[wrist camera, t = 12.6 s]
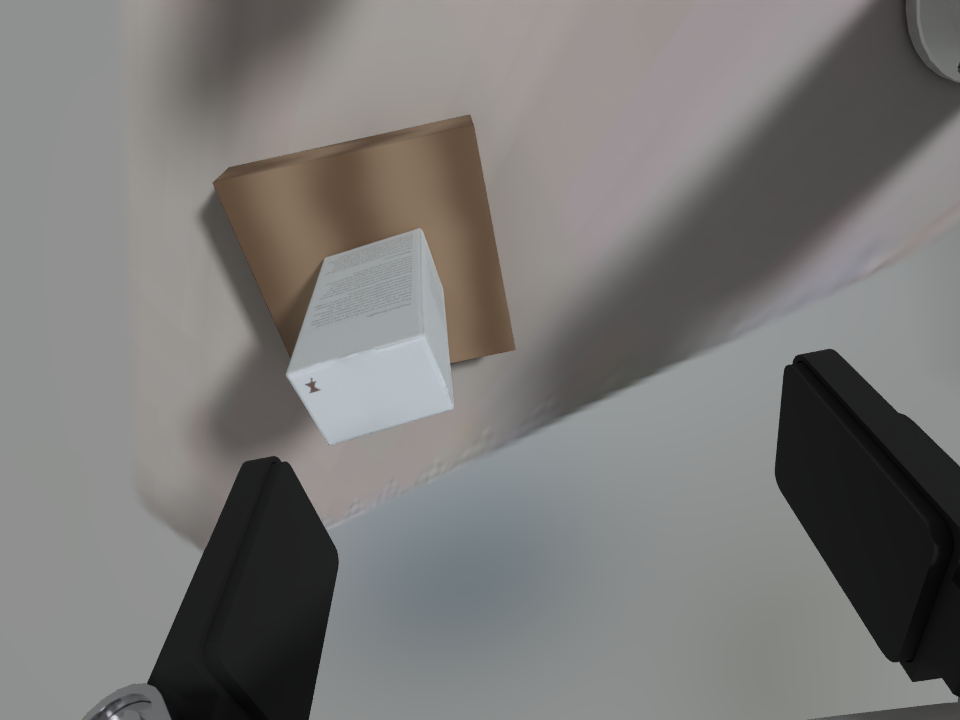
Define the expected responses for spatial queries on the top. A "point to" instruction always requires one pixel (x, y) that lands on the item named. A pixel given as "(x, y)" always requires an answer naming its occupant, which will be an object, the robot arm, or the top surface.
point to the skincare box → (374, 340)
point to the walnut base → (374, 223)
